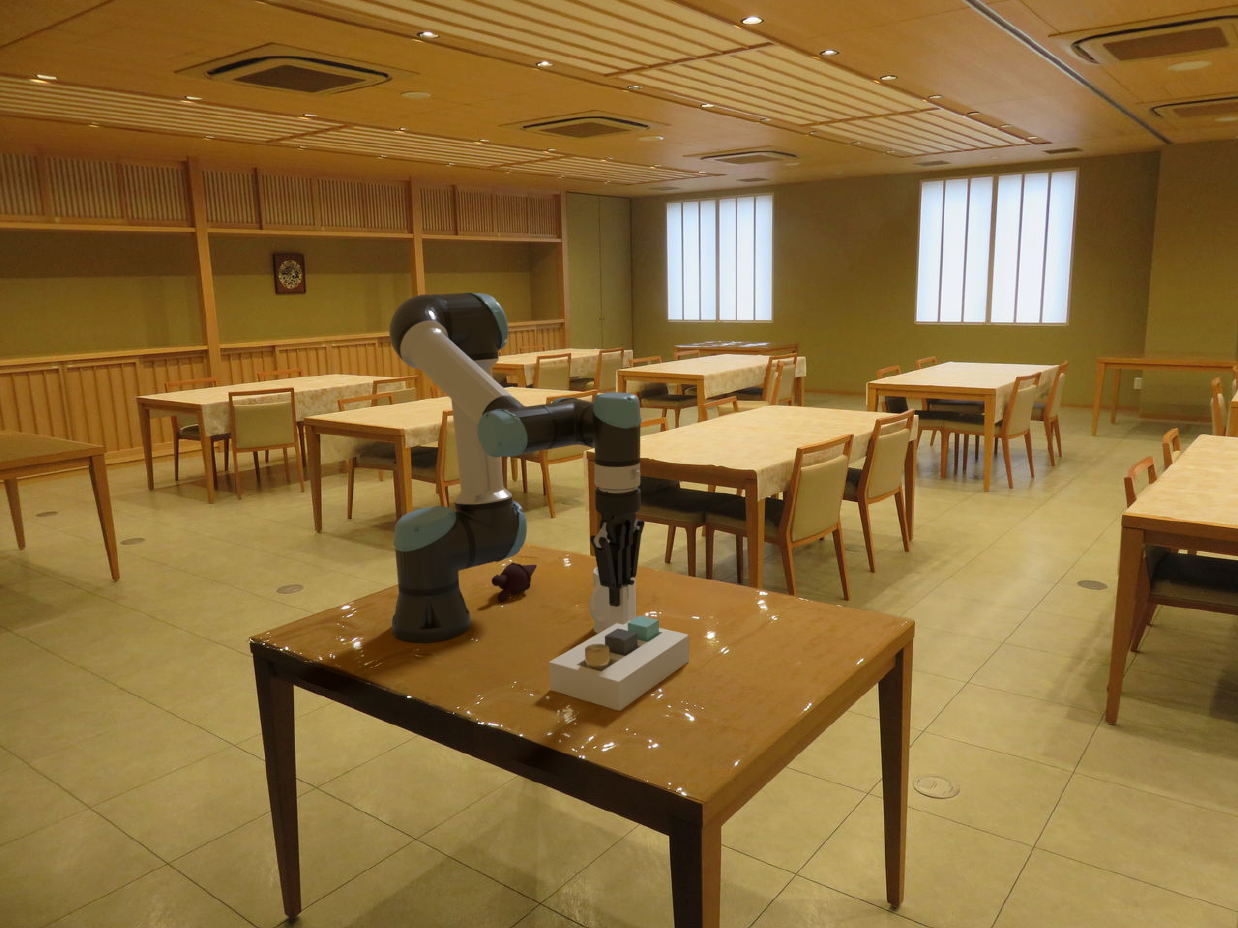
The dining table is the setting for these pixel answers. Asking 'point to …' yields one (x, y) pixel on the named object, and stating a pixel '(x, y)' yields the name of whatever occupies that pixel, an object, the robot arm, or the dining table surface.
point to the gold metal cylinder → (597, 657)
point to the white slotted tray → (619, 669)
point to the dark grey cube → (621, 642)
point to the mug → (607, 604)
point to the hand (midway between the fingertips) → (618, 621)
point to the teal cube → (644, 628)
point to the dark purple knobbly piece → (513, 580)
